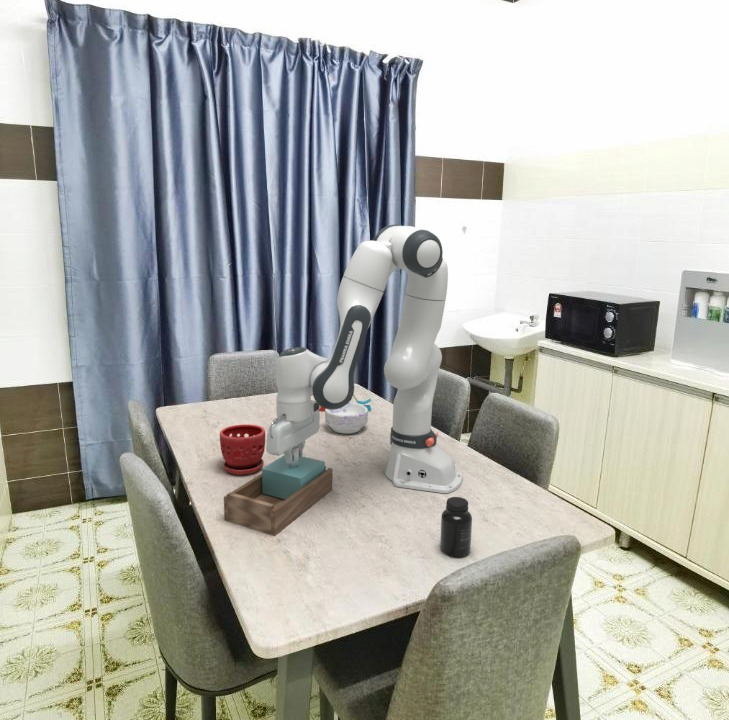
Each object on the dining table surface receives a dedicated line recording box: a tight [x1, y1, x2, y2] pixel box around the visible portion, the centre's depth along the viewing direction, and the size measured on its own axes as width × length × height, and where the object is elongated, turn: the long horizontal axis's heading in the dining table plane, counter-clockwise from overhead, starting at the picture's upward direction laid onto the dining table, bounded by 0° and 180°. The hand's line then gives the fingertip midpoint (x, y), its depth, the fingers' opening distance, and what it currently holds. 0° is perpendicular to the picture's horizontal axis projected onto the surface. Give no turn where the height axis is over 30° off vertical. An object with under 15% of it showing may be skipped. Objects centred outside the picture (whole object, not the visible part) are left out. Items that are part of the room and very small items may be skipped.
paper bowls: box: [324, 401, 369, 435], centre depth 201 cm, size 15×15×8 cm
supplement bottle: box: [439, 496, 473, 558], centre depth 127 cm, size 7×7×12 cm
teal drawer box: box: [261, 445, 327, 500], centre depth 151 cm, size 12×12×12 cm
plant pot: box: [219, 424, 266, 476], centre depth 167 cm, size 13×13×12 cm
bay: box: [223, 467, 333, 537], centre depth 146 cm, size 15×27×7 cm, turn 154°
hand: (294, 459), depth 150 cm, fingers open, 3 cm apart
